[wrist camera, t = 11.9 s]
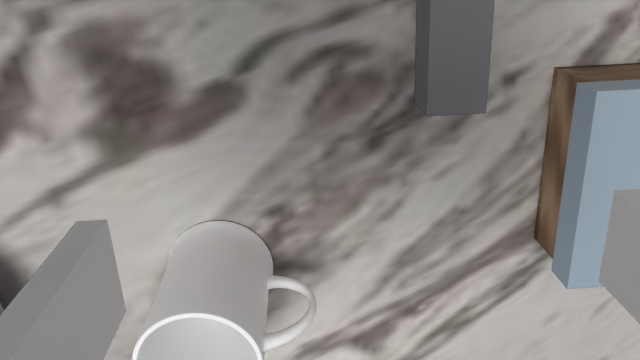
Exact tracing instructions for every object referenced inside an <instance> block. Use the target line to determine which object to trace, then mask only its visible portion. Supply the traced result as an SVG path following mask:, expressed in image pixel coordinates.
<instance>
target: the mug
mask: <svg viewBox="0 0 640 360" xmlns="http://www.w3.org/2000/svg"><path fill="white" fill-rule="evenodd" d="M273 288H287V289H292V290H295V291H297V292H299V293H301V294H303V295H304V296H305V297H306V298H307V299H308V301H309V308H308V311H307V312H306V314H305V315H304V316H303V317H302V318H301V319H300V320H299V321H298V322H296V323H295V324H293V325H292V326H290V327H288V328H286V329H284V330H281V331H278V332H274V333H266V324H267V309H268V294H269V289H273ZM315 313H316V300H315V296H314V294H313V292H312V291H311V289H310V288H309V287H308V286H307V285H305V284H304V283H302V282H300V281H298V280H296V279H293V278H289V277H284V276H274V275H273V261H272V257H271V254H270V251H269V249H268V247H267V246H266V244H265V243H264V241H263V240H262V239H261V238H260V237H259V236H258V235H257V234H256V233H254V232H253V231H251V230H250V229H248V228H246V227H244V226H242V225H240V224H237V223H233V222H228V221H209V222H204V223H200V224H198V225H195V226H193V227H191V228H189V229H188V230H186V231H185V232H183V233H182V234H181V235H180V236H179V237H178V238H177V239H176V241H175V242H174V244H173V245H172V247H171V249H170V252H169V255H168V260H167V268H166V270H165V273H164V275H163V278H162V280H161V283H160V285H159V288H158V290H157V293H156V295H155V298H154V300H153V303H152V305H151V308H150V310H149V313H148V315H147V318H146V320H145V323H144V325H143V328H142V330H141V333H140V335H139V338H138V340H137V343H136V345H135V348H134V351H133V356H132V360H264V354H265V352H267V351H268V350H270V349H272V348H275V347H278V346H281V345H283V344H285V343H287V342H289V341H291V340H293V339H294V338H296V337H297V336H299V335H300V334H301V333H303V332H304V331H305V330H306V329H307V328H308V326H309V325H310V324H311V322H312V321H313V319H314V316H315Z"/></svg>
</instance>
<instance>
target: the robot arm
mask: <svg viewBox="0 0 640 360" xmlns="http://www.w3.org/2000/svg"><path fill="white" fill-rule="evenodd" d="M599 282H600V283H601V284H602V285H603V286H604V287H605V288H606V289H607V290H608V291H609V292H610V293H611V294H612V295H613V296H614V297H615V298H616V299H617V301H618V302H619V303H620V304H621V305H622V306H623V307H624V308H625V309H626V310H627V311H628V312H629V313H630V314H631V315H632V316H633V317H634V318H635V319H636V320H637V321H638V323H639V324H640V189H627V190H614V195H613V201H612V206H611V212H610V218H609V224H608V229H607V235H606V241H605V246H604V252H603V258H602V264H601V269H600V275H599ZM125 312H126V308H125V303H124V299H123V294H122V289H121V284H120V279H119V275H118V270H117V265H116V260H115V256H114V251H113V246H112V241H111V236H110V232H109V227H108V222H107V220H95V221H78V222H76V223H75V224H74V225H73V227H72V228H71V229H70V230H69V231H68V233H67V234H66V235H65V236H64V238H63V239H62V240H61V241H60V243H59V244H58V245H57V246H56V248H55V249H54V250H53V251H52V252H51V254H50V255H49V256H48V257H47V259H46V260H45V261H44V262H43V264H42V265H41V266H40V267H39V268H38V270H37V271H36V272H35V273H34V275H33V276H32V277H31V278H30V280H29V281H28V282H27V283H26V284H25V286H24V287H23V288H22V289H21V291H20V292H19V293H18V294H17V296H16V297H15V298H14V299H13V300H12V302H11V303H10V304H9V305H8V307H7V308H6V309H5V310H4V312H3V313H2V314H1V315H0V360H103V359H104V356H105V354H106V352H107V350H108V348H109V346H110V344H111V342H112V339H113V337H114V335H115V333H116V331H117V329H118V327H119V324H120V322H121V320H122V318H123V316H124V314H125Z"/></svg>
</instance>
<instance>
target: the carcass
mask: <svg viewBox="0 0 640 360" xmlns="http://www.w3.org/2000/svg"><path fill="white" fill-rule="evenodd" d="M638 79H640V63H634V64H614V65H595V66H575V67H556V68H554V76H553V84H552V93H551V101H550V109H549V118H548V126H547V134H546V143H545V151H544V160H543V168H542V176H541V185H540V193H539V201H538V210H537V218H536V226H535V235H534V238H535V239H536V240H537V241H538V243H539V244H540V245H541V246H542V247H543V248H544V249H545V251H546V252H547V253H548V254H549V255H550V256H551V258H552V259H553V256H554V248H555V241H556V234H557V226H558V219H559V212H560V204H561V197H562V190H563V182H564V175H565V168H566V160H567V153H568V146H569V138H570V131H571V124H572V116H573V109H574V102H575V94H576V87H577V83H580V82H599V81H619V80H638Z"/></svg>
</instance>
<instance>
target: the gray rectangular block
mask: <svg viewBox="0 0 640 360" xmlns="http://www.w3.org/2000/svg"><path fill="white" fill-rule="evenodd" d="M493 11H494V0H417V13H416V54H415V95H414V102H415V103H416V104H417V105H418V107H419V108H420V109H421V110H422V111H423V112H424V114H425V115H426V116H441V115H460V114H478V113H486V104H487V91H488V78H489V64H490V51H491V38H492V24H493Z"/></svg>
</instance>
